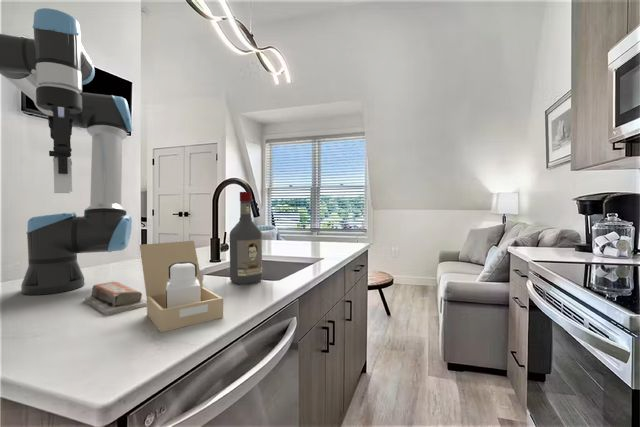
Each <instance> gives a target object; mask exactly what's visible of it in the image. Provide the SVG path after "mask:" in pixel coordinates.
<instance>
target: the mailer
mask: <svg viewBox="0 0 640 427" xmlns="http://www.w3.org/2000/svg"><path fill="white" fill-rule="evenodd" d="M139 250H140V258H141V265H142V272H143V279H144V281H143V282H144V286H145V287H144V288H145V294H146V295H145V296H146V301H147V306H146V315H147V317H148V318H149V319H150V320H151V321H152V322H153V324H154V325H155V327H156V328H157V329H158V331H160V332H161V333H163V332H168V331H171V330H176V329H180V328H184V327H188V326H191V325H192V326H193V325H196V324H200V323H205V322H208V321H209V322H210V321H214V320H217V319H218V320H219V319H222V318H223V319H224V298H223V296H220V295H218V294H216V293H215V292H213V291H211V290H210V289H208V288H206V287H204V286H203V282H202V279H201V274H200V269H199V266H200V265H199V261H198V260H199V259H198V255H197V250H196V245H195V241H194V240H184V241H172V242H160V243H145V244H139ZM177 262H193V263H195V264H196V265H197V279H198V280H199V284H200V289H201V302H196V303H191V304H186V305H181V306H176V307H171V308H166V285H167V282H169V266H170V265H172V264H173V263H177Z"/></svg>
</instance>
